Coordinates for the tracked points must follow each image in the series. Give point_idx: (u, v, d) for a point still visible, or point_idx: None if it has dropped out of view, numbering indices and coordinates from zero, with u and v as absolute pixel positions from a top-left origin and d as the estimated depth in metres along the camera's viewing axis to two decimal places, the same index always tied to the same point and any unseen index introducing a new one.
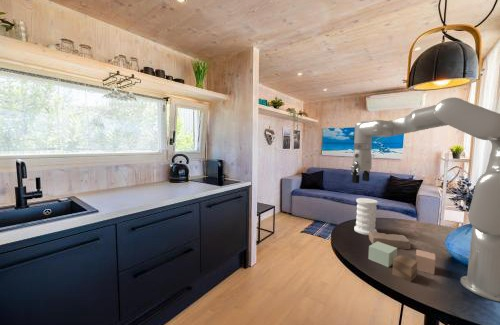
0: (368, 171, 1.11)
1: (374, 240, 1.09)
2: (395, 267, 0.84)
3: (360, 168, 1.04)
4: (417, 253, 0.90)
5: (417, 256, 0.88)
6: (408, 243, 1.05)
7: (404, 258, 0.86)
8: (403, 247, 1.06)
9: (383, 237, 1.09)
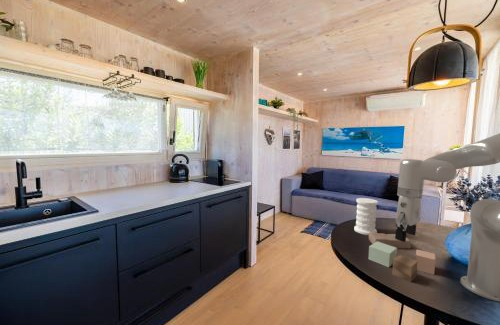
0: None
1: (376, 241, 1.07)
2: (395, 267, 0.84)
3: (408, 222, 0.78)
4: (417, 253, 0.90)
5: (417, 256, 0.88)
6: (408, 242, 1.06)
7: (404, 258, 0.86)
8: (404, 247, 1.06)
9: (384, 238, 1.09)
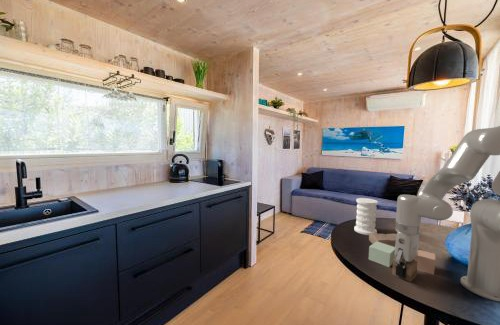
0: None
1: None
2: (395, 267, 0.84)
3: (406, 259, 0.79)
4: None
5: (417, 256, 0.88)
6: None
7: None
8: None
9: (386, 238, 1.08)
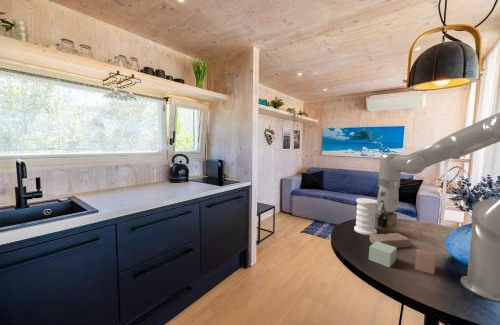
0: (392, 212, 0.94)
1: None
2: (377, 219, 0.93)
3: (387, 209, 0.88)
4: (417, 253, 0.90)
5: (417, 256, 0.88)
6: (408, 241, 1.08)
7: None
8: (404, 246, 1.07)
9: (387, 238, 1.07)
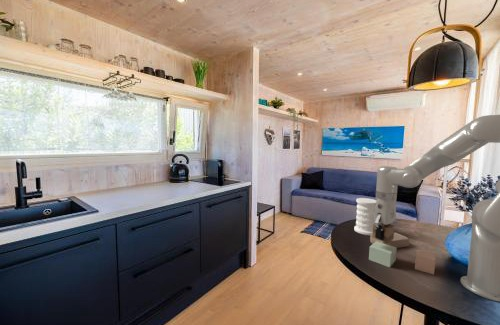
0: None
1: None
2: (374, 231, 0.95)
3: (384, 222, 0.90)
4: (417, 253, 0.90)
5: (417, 256, 0.88)
6: (408, 240, 1.08)
7: None
8: (404, 245, 1.08)
9: None
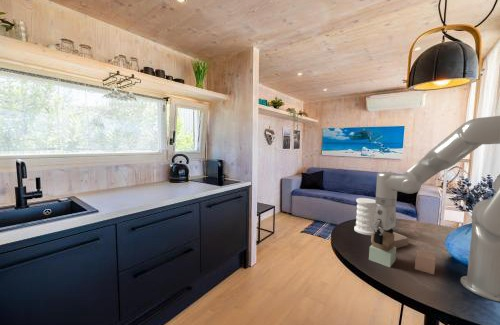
0: (392, 227, 0.96)
1: None
2: None
3: (384, 228, 0.90)
4: (417, 253, 0.90)
5: (417, 256, 0.88)
6: (407, 239, 1.09)
7: (383, 232, 0.96)
8: (404, 245, 1.08)
9: None
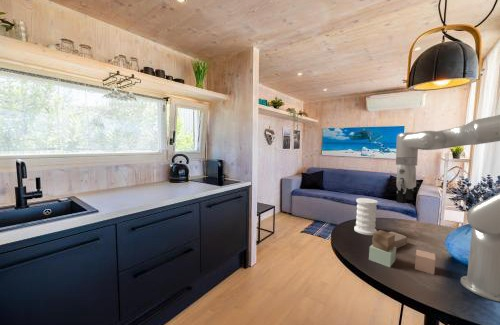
0: (412, 188, 0.97)
1: None
2: (374, 240, 0.95)
3: (407, 186, 0.91)
4: (417, 253, 0.90)
5: (417, 256, 0.88)
6: (406, 239, 1.10)
7: (383, 232, 0.96)
8: (404, 244, 1.09)
9: None
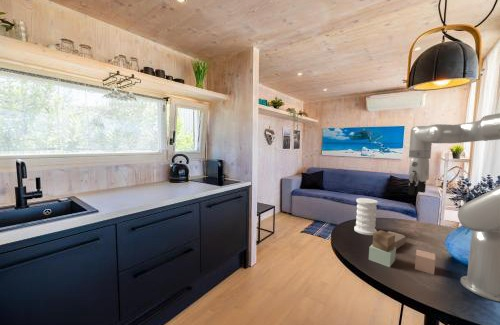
0: (424, 181, 0.99)
1: None
2: (374, 240, 0.95)
3: (419, 178, 0.93)
4: (417, 253, 0.90)
5: (417, 256, 0.88)
6: (405, 238, 1.11)
7: (384, 232, 0.96)
8: (403, 243, 1.10)
9: None
